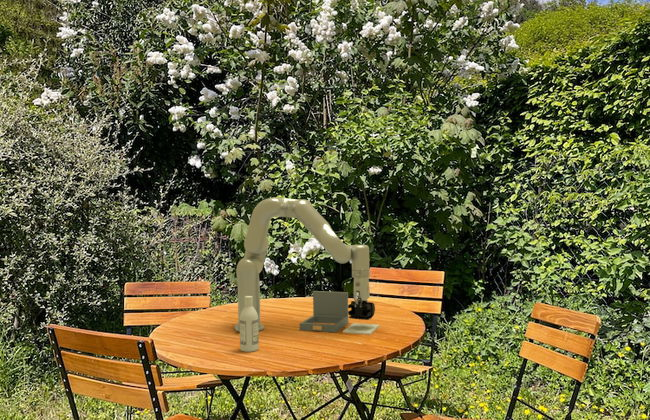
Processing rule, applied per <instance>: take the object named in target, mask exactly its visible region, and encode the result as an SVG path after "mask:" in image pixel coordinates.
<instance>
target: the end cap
mask: <svg viewBox="0 0 650 420" xmlns="http://www.w3.org/2000/svg"><path fill="white" fill-rule="evenodd" d="M362 307H363V316H362V317H358V316H355V300H351V301H350V303H348V309H350V310H348V319H351V320H352V319H354V320H363V321H364V320H365V321H369V320H371V319H372V318H373V317H374V315H375V313H376V306H375V303H374V302H370V301H367V302H362Z"/></svg>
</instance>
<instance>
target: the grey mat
mask: <svg viewBox="0 0 650 420" xmlns="http://www.w3.org/2000/svg"><path fill="white" fill-rule="evenodd" d="M379 327H380V324H374V323H373V324H372V323H370V324H369V323H360V322H359V323H358V322H357V323H356V322H355V323H354V322H352V324H350V325H349V326H348V327H346V328H345V329H344V330H343V331H342V333H345V334H357V335H370V336H371V335H372V334H373V333H374V332H375V331H376V330H377V329H379Z"/></svg>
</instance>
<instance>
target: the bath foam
mask: <svg viewBox="0 0 650 420" xmlns="http://www.w3.org/2000/svg"><path fill="white" fill-rule="evenodd" d="M259 332H260V331H258V314H257V312H256V310H255V309H254V307H253V297H252V296H245V307H244V308H243V310H242V312H241V314H240V332H239V349H240V351H242V352H244V353H247V352H248V353H249V352H250V353H253V352H256V351H258V350H259V348H260V347H259V346H260V344H259V342H260V341H259Z"/></svg>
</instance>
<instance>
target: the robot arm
mask: <svg viewBox="0 0 650 420" xmlns="http://www.w3.org/2000/svg"><path fill="white" fill-rule="evenodd" d="M278 217H279V218H281V217H282V218H291V219H292V218H293V219H294V218H295V219H297V220H298V221H299V222H300V223H301V224H302V225H303V226H304V227H305V228H306V229H307V231H308V232H309V233H310V234H311V235H312V236H313V237H314V238H315V240H316V241H317V242H318V243H319V244H320V246H321V247H323V248H324V249H325V251H326V252H327V253H328V254H329V255H330V256H331V258H332V259H333V260H334V261H335V262H336V263H339V264H346V263H348V262H349V261H351V277H352V278H353V301H355V316H358V317H362V316H363V307H362V302H368V300H369V299H370V296H371V295H370V293H371V291H370V279H369V278H370V277H371V276H370V247H369V246H368V245H367V244H352V245H351V244H345V243H344V242H343V241H342V240H341V239H340V238H339V236H338V235H337V234H336V233H335V231H334V230H333V229H332V226H331V225H330V223H329V222H328V221H327V220H326V219H325V218H324V216H322V215H321V214H320V213H319V211H318V210H317V209H316V208H315V207H314V206H313V204H312V203H311V201H310V200H307V199H304V198H303V199H302V198H301V199H295V198H285V197H284V198H283V197H276V196H275V197H268V198H266V199H265V198H264V199H263V200H261V201H260V202H258V203H257V204H256V206H255V207H254V208H253V210H252V213H251V217H250V220H249V223H248V227H247V231H246V236H245V238H244V242H243V246H244V250H245V251H244V256H243V258H241V259H240V260H239V261H238V263H237V265H236V269H235V270H236V280H237V281H236V282H237V283H236V284H237V313H238V314H237V315H238V317H237V318H238V319H237V320H238V321H237V324H235V325H234V331H236V332H239V333H240V314H241V312H242V310H243V308H244V307H245V296H252V297H253V307H254V309H255V310H256V312H257V314H258V332H260V331H263V330H264V329H265V326H264V324H262V323H261V290H260V289H261V287H260V286H261V285H260V284H261V283H260V273H261V272H262V270H263V268H264V264H265V260H266V256H267V253H268V252H267V251H268V248H269V238H268V231H269V228H270V224H271V220H272V219H273V218H278Z"/></svg>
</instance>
